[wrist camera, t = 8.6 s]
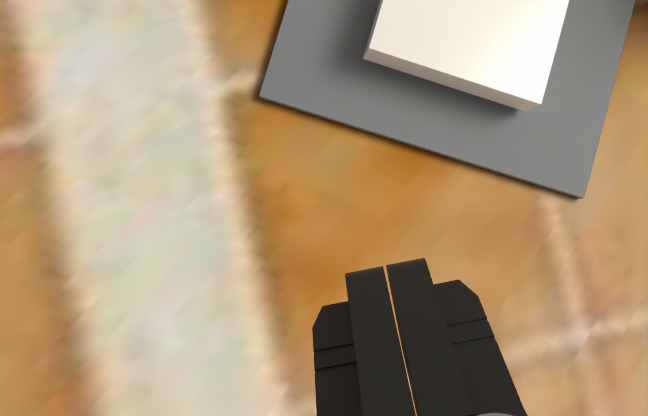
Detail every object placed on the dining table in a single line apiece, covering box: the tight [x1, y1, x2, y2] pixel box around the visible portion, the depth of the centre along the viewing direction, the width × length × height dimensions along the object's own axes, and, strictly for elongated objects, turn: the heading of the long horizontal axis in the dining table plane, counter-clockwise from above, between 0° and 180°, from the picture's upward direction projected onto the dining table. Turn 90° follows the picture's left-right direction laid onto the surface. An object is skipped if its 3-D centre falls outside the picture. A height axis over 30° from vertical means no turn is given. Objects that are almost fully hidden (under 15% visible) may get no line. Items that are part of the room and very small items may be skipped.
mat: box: [259, 0, 636, 199], centre depth 29 cm, size 16×11×1 cm
